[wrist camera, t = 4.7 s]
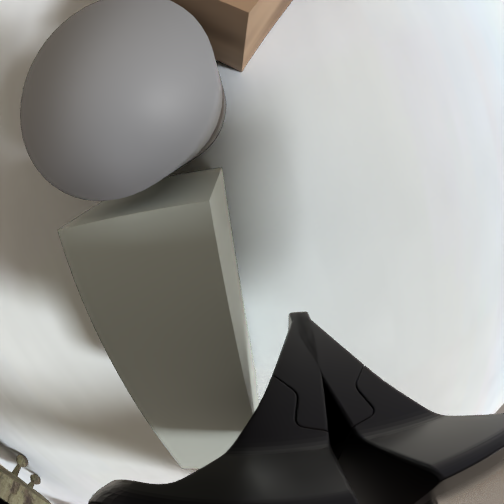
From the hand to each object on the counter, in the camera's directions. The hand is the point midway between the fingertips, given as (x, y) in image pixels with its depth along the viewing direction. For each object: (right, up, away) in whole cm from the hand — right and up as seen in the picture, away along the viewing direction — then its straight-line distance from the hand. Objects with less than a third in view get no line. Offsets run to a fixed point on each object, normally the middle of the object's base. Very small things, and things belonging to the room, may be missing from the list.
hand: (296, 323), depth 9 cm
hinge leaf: (-4, +2, +1) cm, 4 cm away
